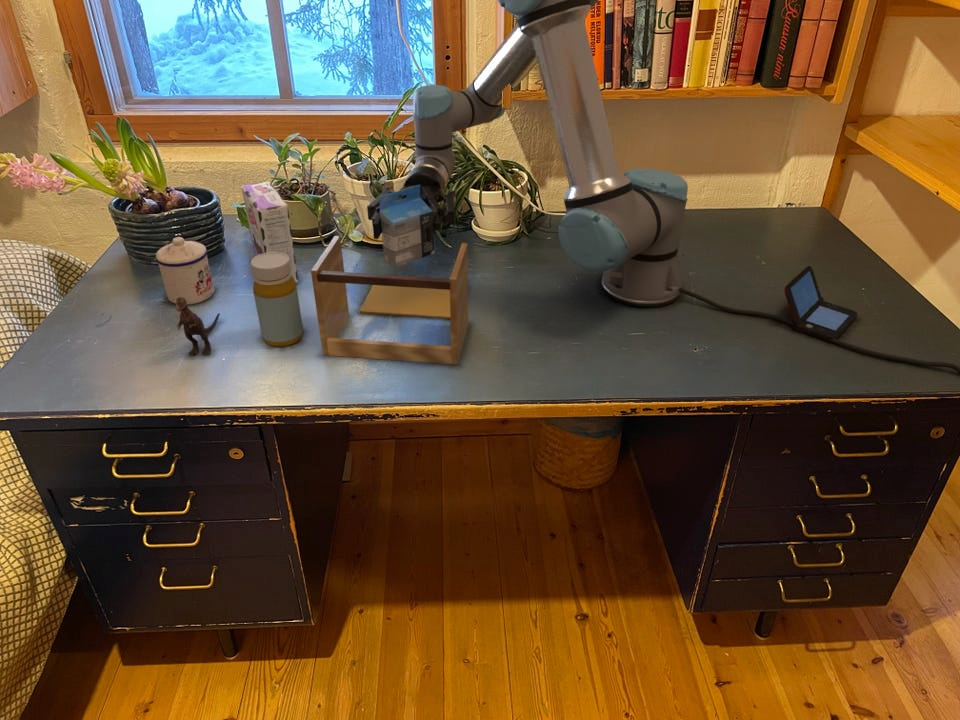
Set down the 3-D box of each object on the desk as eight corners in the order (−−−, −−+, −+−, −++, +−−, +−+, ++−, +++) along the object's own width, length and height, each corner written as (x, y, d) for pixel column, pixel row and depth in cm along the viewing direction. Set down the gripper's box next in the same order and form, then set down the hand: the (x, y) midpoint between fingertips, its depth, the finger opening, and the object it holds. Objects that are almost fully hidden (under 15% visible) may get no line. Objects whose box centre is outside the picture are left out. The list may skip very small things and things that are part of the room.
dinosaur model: (168, 302, 116) (194, 263, 128) (180, 366, 121) (203, 323, 134) (194, 302, 116) (217, 264, 129) (205, 366, 122) (226, 324, 135)
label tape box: (396, 269, 129) (392, 203, 122) (382, 261, 132) (378, 195, 125) (435, 254, 134) (433, 190, 127) (421, 247, 137) (419, 183, 130)
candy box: (254, 260, 154) (240, 184, 145) (282, 254, 156) (270, 179, 147) (270, 288, 144) (256, 209, 135) (300, 282, 146) (288, 203, 137)
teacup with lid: (208, 306, 138) (195, 249, 132) (159, 306, 138) (143, 249, 132) (225, 276, 148) (214, 222, 142) (180, 276, 148) (166, 222, 142)
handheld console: (834, 345, 128) (845, 307, 123) (773, 323, 133) (782, 287, 129) (858, 317, 135) (870, 281, 131) (800, 298, 141) (809, 263, 137)
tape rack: (468, 324, 133) (467, 243, 124) (457, 365, 122) (455, 279, 113) (344, 316, 135) (334, 235, 126) (322, 355, 125) (310, 270, 116)
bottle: (259, 331, 131) (244, 255, 122) (299, 323, 133) (287, 247, 125) (266, 351, 126) (251, 273, 117) (307, 343, 128) (295, 265, 119)
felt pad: (465, 287, 144) (465, 286, 144) (455, 319, 135) (455, 317, 134) (375, 282, 146) (375, 280, 146) (359, 312, 136) (359, 310, 136)
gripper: (479, 205, 145) (463, 256, 126) (374, 199, 147) (343, 249, 128) (479, 168, 141) (463, 215, 122) (371, 163, 143) (338, 208, 124)
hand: (401, 232), depth 125 cm, fingers closed on label tape box, 8 cm apart
